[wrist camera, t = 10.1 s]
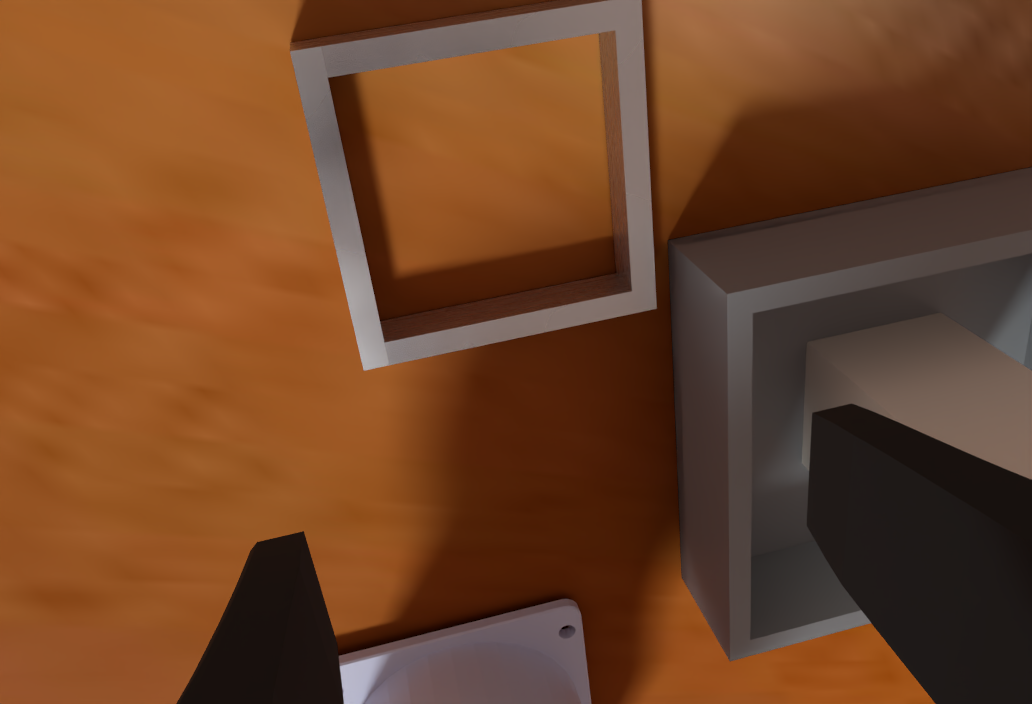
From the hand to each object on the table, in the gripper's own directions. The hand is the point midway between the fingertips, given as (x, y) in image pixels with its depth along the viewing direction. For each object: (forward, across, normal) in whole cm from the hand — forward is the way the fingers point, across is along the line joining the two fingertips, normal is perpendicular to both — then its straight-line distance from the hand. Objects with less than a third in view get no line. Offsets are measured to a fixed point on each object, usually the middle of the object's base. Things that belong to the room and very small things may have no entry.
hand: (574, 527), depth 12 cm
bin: (+10, -11, +6) cm, 16 cm away
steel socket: (+10, -1, -2) cm, 11 cm away
